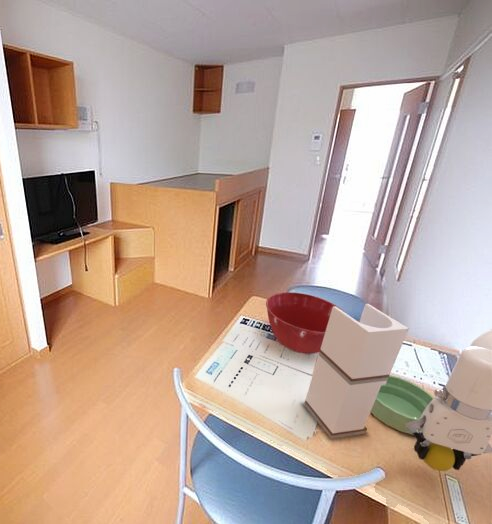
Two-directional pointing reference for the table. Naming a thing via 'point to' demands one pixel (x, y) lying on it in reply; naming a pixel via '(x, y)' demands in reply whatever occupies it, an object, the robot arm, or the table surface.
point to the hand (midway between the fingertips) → (435, 458)
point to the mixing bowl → (299, 320)
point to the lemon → (439, 457)
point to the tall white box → (352, 369)
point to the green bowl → (400, 403)
